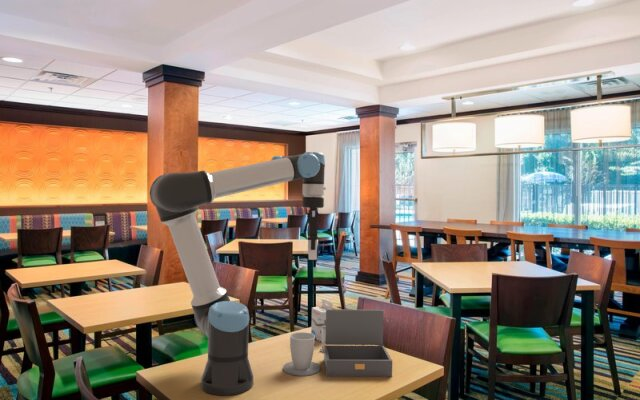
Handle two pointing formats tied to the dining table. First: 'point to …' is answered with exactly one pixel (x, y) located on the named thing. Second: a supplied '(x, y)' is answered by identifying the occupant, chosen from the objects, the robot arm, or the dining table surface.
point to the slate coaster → (291, 370)
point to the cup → (302, 349)
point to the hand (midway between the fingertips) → (311, 256)
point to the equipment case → (355, 331)
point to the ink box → (319, 319)
